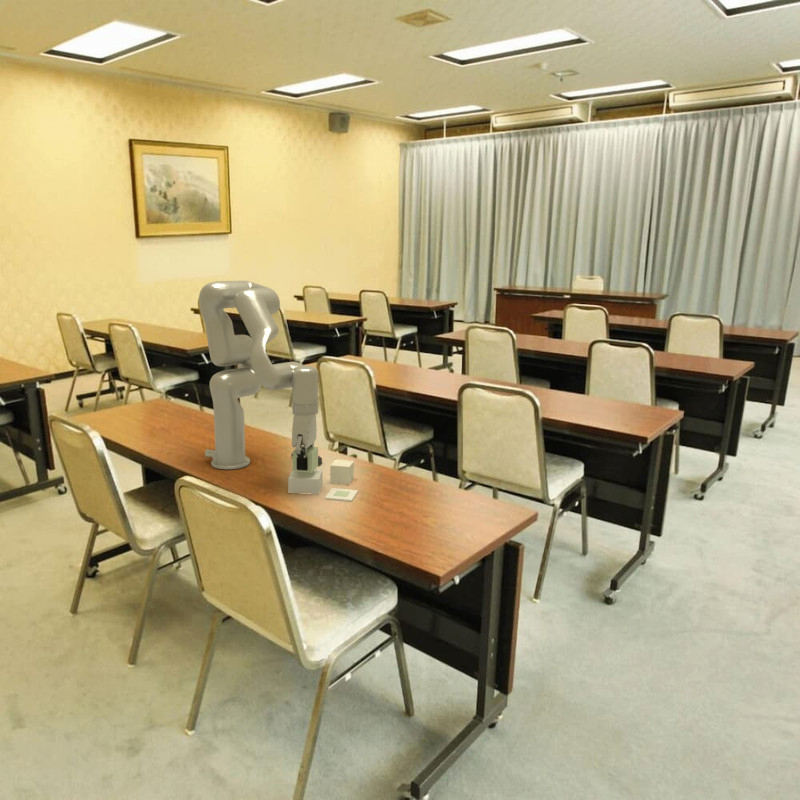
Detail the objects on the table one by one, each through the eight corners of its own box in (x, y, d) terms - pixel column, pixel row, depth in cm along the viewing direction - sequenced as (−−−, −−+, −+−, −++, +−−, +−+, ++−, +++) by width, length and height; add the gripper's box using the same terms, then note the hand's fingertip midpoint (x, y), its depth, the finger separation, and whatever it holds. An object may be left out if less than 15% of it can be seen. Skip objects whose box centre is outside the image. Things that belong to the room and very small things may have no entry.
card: (324, 499, 190) (324, 497, 190) (332, 489, 198) (332, 487, 198) (351, 501, 189) (351, 499, 189) (358, 491, 197) (358, 489, 197)
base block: (288, 494, 194) (288, 478, 193) (293, 483, 203) (293, 468, 201) (318, 495, 194) (318, 479, 193) (322, 484, 203) (322, 469, 202)
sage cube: (292, 470, 194) (292, 451, 193) (299, 464, 200) (298, 445, 199) (312, 472, 193) (312, 453, 192) (318, 466, 199) (318, 447, 198)
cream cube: (330, 483, 203) (330, 465, 202) (335, 477, 209) (335, 459, 207) (349, 485, 202) (349, 466, 201) (353, 478, 208) (353, 460, 207)
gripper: (302, 400, 201) (302, 456, 205) (283, 414, 185) (283, 474, 189) (325, 402, 200) (325, 458, 204) (308, 416, 184) (309, 477, 188)
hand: (305, 465), depth 197 cm, fingers closed on sage cube, 5 cm apart
